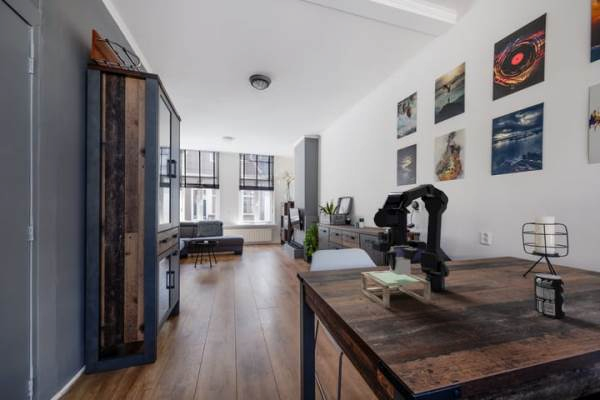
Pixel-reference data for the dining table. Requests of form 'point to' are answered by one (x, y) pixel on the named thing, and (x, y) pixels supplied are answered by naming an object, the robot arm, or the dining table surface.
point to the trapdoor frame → (386, 288)
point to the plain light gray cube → (401, 266)
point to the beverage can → (549, 295)
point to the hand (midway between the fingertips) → (399, 269)
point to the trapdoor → (394, 279)
